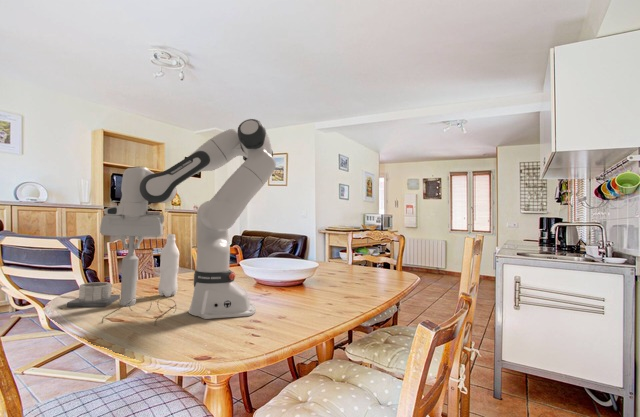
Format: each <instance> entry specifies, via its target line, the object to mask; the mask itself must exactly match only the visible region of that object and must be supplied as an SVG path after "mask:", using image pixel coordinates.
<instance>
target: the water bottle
mask: <svg viewBox="0 0 640 417" xmlns="http://www.w3.org/2000/svg"><path fill="white" fill-rule="evenodd" d="M176 240H177V239H176V234H173V233H169V234H167V236H166V243H165V245H164V247H163V248H162V250H161V252H160V266H159V274H160V278H159V283H158V287H157V290H158V294H159V296H160V297H166V298H168V297H171V296H172V297H174V296H176V294H177V293H178V292H177V291H178V288H179V285H178V284H179V283H178V272H179V269H180V266H179V265H180V264H179V263H180V251H179V249H178V246H177V244H176Z"/></svg>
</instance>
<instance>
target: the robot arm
mask: <svg viewBox="0 0 640 417" xmlns="http://www.w3.org/2000/svg"><path fill="white" fill-rule="evenodd" d="M273 153H274V151H273V149H272V145H271V141H270V137H269V135H268V133H267V129H266V128H265V126H264V124H263V123H262V122H261V121H260V120H258V119H256V118H249V119H245V120H243V121H242V122H241V123H240V124H239V125H238V127H237V129H234V128H229V129H226V130H224V131H222V132H220V133H218V134H216V135H215V136H212V137H211V138H209V139H208V140H207V141H205V142H204V143H203V144H202V145H200V146H199V147H198V148H197V149H196V150H195V151H193V152H191V154H190V155H188V156H187V157H185V158H184V159H182V160H181V161H179V162H177V163H176V164H174V165H172V166H171V167H169V168H168V169H166V170H164V171H161V172H154V171H151V170H150V169H149V168H148V167H146V166H130V167H128V168H126V169H125V170H123V174H122V178H121V185H120V191H121V198H120V201H119V203H120V204H119V205H115V206H110V207H106V208H104V210H103V213H104V215H103V216H102V218H101V221H100V227H99V233H100V234H101V236H113V237H114V236H118V237H119V236H120V237H119V239H120V241H121V243H122V244H123V245H122V246H123V249H124V250H126V249H127V250H128V246H129V242H127V238H128V237H129V236H135V237H137V242H135V244H134V250H139V249H140V245H141V243H142V242H143V241H144V237H154V238H159V237H162V236H163V235H164V222H165V215H164V214H163V213H161V212H160V211H150V210H149V209H148V208H149V203H153V204H166V203H167V204H168V203H169V202H172V201H173V200H174V199H175V197H176V196H177V186H179V185H181V184H182V183H184V182H185V181H186V180H188V179H190V178H192V177H193V176H195V175H196V174H198V173H201V172H208V171H209V172H213V171H215V170H217V169H220V168H221V167H223V166H225V165H226V164H228V163H230V161H232V160H233V159H234V158H236V157H242V160H243V161H244V162H243V163H242V164H241V165H240V166H239V167H238V168H237V169H236V170H235V171H234V172H233V173H232V174H231V175H230V176H229V177H228V178H227V180H225V182H224V183H223V185H222V186H221V188H219V189H218V191H217V192H216V193H215V194H214V195H213V197H212V198H211V199H210V200H207V201H205V202H203V203H202V204H200V206H198V209H197V212H196V244H197V245H196V265H195V270H194V273H193V288H194V289H193V295H192V298H191V302H190V307H189V310H188V314H190V315H192V316H195V317H200V318H201V319H204V320H206V319H207V320H208V319H210V320H211V319H221V318H223V319H224V318H236V317H237V318H238V317H239V318H241V317H250V316H252V315H254V314H256V313H255V312H256V305H254V303H251V302H250V295H249V292H248V291H247V289H245V288H243V286H241V285H240V284H239V283H237V282H236V281H235V278H236V274H235V271H232V270H230V261H231V260H230V258H231V247H230V246H231V245H230V241H229V240H230V239H229V229H230V228H232V227H233V226H234V224H235V223H236V221H237V220H238V218H239V217H240V215H241V214H242V213H243V212H244V210H245V209H246V207H247V205H248V204H249V203H250V202H251V200H252V199H253V198H254V197H255V196H256V195H257V193H258V192H259V191H260V190H261V189H262V188H263V187H264V185H265V184H266V183H267V182H268V180H269V179H270V177H271V176H272V175H273V173H274V172H275V170H276V166H277V163H276V160H275V158H274V154H273ZM148 210H149V211H148Z"/></svg>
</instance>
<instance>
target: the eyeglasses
mask: <svg viewBox="0 0 640 417" xmlns="http://www.w3.org/2000/svg"><path fill="white" fill-rule="evenodd" d="M135 298H136V299H143V297H139V296H138V297H135ZM135 298H133V299H135ZM133 299H132V300H133ZM145 299H147V300H149V301H150V306H149V308H148V309H147V310H146V312H147V311H149V310H150V309H151V307H152V303H153V301H152V300H151V298H149V297H145ZM153 299H156V300H157V299H158V300H157V302H156V303H157V309H158V310H159V312H162V314H161V315H160V316H158V317H156V318H155V321H154V327H156V326H157V321H158V320H159V319H160V318H161V317H163V316H164V315H165V314H167V313H168V312H170V311H171V310H172V309H174V308H175V310H174V312H172V313H175V312H177V308H176V307H177V303H176V301H175V300H174V299H173V298H169V300H171V301H173V302H174V304H175V305H173V306H172V307H171V308H169V309H168V310H166V311H165V312H164V311H162V310H161V309H160V308H159V302H160V301H161V300H163V298H158V297H153ZM132 300H131V301H132ZM131 301H130V303H131ZM130 303H128V304H129V306H128V307H129V310H130V311H134V310H133V309H132V308H131V306H130ZM128 304H126V305H128ZM126 305H124V306H120V307H119V308H117V309H115V310H113V311H111V312H109V313H107V314H106V315H104V316H103V317H102V319H101V324H104V319H105V318H106V317H108V316H110V315H111V314H113V313H115V312H117V311H119V310H120V309H122V308H124V307H127V306H126ZM163 312H164V313H163Z"/></svg>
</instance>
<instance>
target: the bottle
mask: <svg viewBox="0 0 640 417" xmlns="http://www.w3.org/2000/svg"><path fill="white" fill-rule="evenodd" d="M128 243H129V246H128V249H127V253H126V255H125V256H124V257H123V258H122V261H121V262H122V265H121V284H120V299H119V306H120V307H122V306H124V305H126V304H128V303H130V301H131V300H132V299H133V298H135V299H133V300H132V301H131V303H130V307H131V306H134V305H136V303H137V297H136V295H137V294H136V293H137V282H138V273H139V272H138V270H139V263H140V258H139V257H138V256H137V255H136V253H135V249H134V244H136V236H128ZM124 307H129V304H128V305H126V306H124Z"/></svg>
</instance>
